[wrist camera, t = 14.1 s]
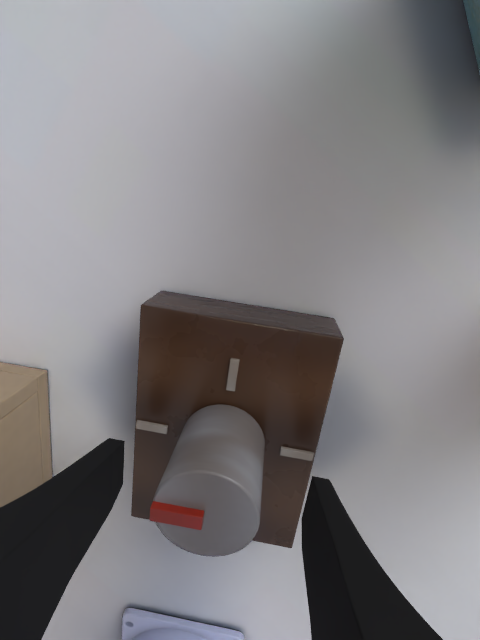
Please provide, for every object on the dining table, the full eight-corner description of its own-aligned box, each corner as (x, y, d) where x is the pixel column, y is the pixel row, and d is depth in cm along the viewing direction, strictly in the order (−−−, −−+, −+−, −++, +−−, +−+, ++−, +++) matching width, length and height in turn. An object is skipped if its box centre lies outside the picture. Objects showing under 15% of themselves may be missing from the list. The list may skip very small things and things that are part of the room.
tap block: (290, 506, 19) (291, 552, 17) (148, 479, 20) (129, 519, 17) (334, 318, 16) (345, 339, 13) (160, 290, 16) (138, 305, 14)
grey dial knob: (270, 411, 15) (267, 490, 10) (258, 479, 16) (251, 575, 12) (186, 397, 15) (150, 469, 11) (180, 465, 16) (146, 554, 12)
